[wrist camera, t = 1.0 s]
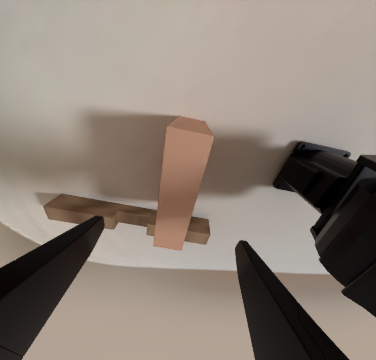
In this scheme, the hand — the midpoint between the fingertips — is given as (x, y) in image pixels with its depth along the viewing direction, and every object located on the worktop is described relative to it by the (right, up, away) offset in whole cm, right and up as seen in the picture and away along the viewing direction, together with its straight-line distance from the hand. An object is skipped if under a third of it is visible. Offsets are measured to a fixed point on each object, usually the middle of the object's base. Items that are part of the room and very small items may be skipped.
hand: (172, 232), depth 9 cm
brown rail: (-8, -2, +14) cm, 16 cm away
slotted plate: (0, +5, +9) cm, 11 cm away
